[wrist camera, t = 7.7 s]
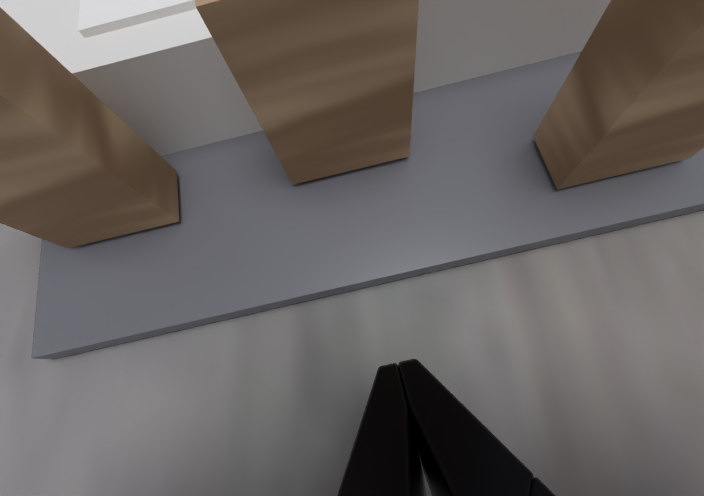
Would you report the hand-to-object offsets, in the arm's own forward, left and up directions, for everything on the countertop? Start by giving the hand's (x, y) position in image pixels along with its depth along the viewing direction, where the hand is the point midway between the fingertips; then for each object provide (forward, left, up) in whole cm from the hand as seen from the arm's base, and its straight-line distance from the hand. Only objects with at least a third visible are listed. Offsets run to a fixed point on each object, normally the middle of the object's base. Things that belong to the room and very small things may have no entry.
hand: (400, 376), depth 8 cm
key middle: (+8, -5, -5) cm, 11 cm away
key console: (+10, -7, -6) cm, 14 cm away
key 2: (+13, +3, -5) cm, 14 cm away
